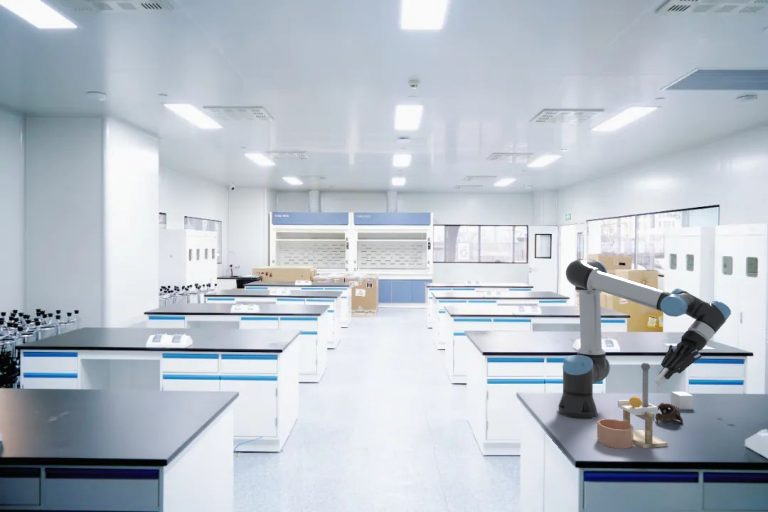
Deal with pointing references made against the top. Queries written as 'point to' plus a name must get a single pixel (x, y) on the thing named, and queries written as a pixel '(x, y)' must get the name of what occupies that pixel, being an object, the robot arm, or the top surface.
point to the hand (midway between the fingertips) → (657, 383)
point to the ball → (635, 402)
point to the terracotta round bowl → (615, 433)
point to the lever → (645, 405)
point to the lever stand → (645, 432)
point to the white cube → (682, 400)
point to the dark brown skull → (668, 413)
